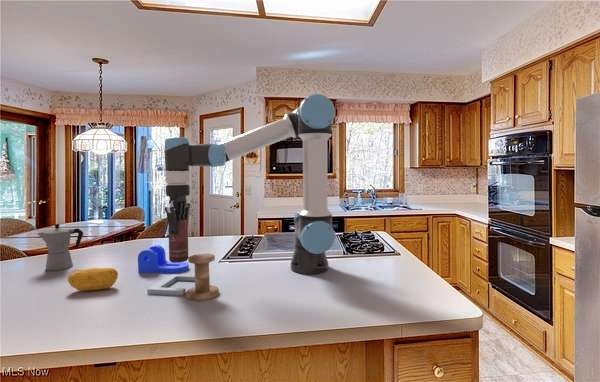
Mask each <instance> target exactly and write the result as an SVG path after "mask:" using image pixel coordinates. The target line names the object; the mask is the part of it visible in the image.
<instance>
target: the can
mask: <svg viewBox="0 0 600 382" xmlns="http://www.w3.org/2000/svg"><path fill="white" fill-rule="evenodd" d="M177 226H178V235H171V234H170V232H169V226H168V259H169V262H173V263H179V262H187V261H188V258H189V230H188V229H189V227H188V226H189V221H188V222H187V220H186V219H185V220H181V221H177Z"/></svg>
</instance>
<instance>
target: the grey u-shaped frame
mask: <svg viewBox="0 0 600 382" xmlns="http://www.w3.org/2000/svg"><path fill="white" fill-rule="evenodd" d="M176 281H180V282H181V281H184V282H186V281H188V282H189V281H190V282H195V274H180V273H170V275H168V276H166V277H165V278H163V279H162V280H160V281H158V282H156V283H155V284H154V285H152V286H150V287H148V288H147V289H146V291H147V295H165V296H168V295H169V296H184V295H186V291H187V289H186V288H183V287H181V288H180V287H169V286H171V285H172V284H174V283H175V282H176Z"/></svg>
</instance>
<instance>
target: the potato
mask: <svg viewBox="0 0 600 382" xmlns="http://www.w3.org/2000/svg"><path fill="white" fill-rule="evenodd" d="M118 274H119V273H118V270H117V269H115V268H113V267H103V268H102V267H94V268H86V269H85V268H84V269H78V270H76V271H74V272H72V273H70V274H69V276H67V282H68V284H69V285H70V286H71V288H74V290H75V289H76V290H77V291H102V290H105V289H109V288H111V287H113V286H114V285H115V284H116V282H117V279H118V277H119V275H118Z"/></svg>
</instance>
